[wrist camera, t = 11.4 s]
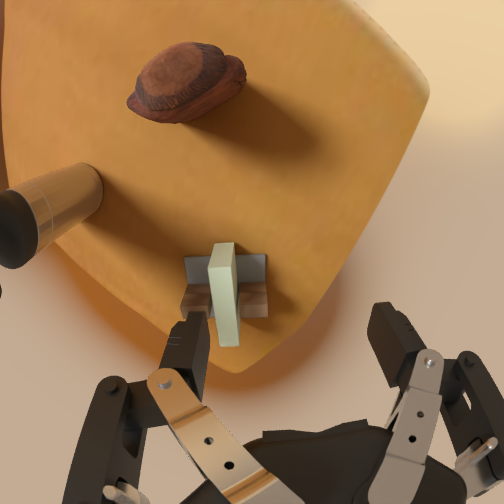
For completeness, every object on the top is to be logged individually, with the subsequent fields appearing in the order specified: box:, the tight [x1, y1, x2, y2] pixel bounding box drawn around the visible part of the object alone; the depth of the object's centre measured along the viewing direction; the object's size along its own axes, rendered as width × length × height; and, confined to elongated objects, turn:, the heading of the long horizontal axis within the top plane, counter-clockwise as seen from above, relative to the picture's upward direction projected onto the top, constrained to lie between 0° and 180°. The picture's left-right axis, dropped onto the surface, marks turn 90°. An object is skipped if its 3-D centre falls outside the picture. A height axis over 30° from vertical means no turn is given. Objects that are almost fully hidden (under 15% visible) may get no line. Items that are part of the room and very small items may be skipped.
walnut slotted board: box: [180, 282, 268, 319], centre depth 44 cm, size 13×2×6 cm, turn 92°
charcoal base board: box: [184, 254, 266, 317], centre depth 47 cm, size 13×12×1 cm
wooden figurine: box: [127, 42, 247, 124], centre depth 26 cm, size 12×6×18 cm, turn 119°
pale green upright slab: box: [208, 242, 240, 346], centre depth 42 cm, size 3×14×8 cm, turn 3°
